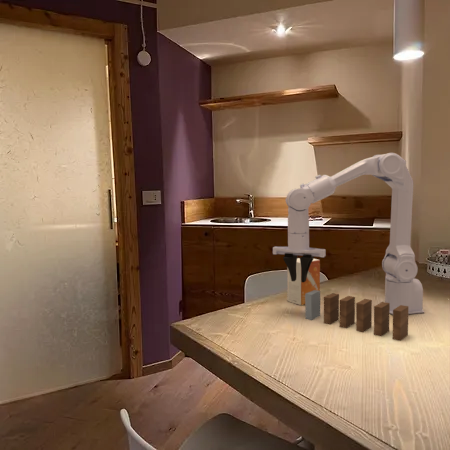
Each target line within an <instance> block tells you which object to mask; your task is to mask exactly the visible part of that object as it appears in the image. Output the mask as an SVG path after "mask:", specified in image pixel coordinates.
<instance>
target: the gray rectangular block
mask: <svg viewBox="0 0 450 450" xmlns="http://www.w3.org/2000/svg"><path fill="white" fill-rule="evenodd" d="M304 306H305V310H304V311H305V313H304V314H305V315H304V317H305V320H309V321H313V320H315V319H316V318H318V317H321V290H320V291H318V290H313V291H311V292H308V293H306V294H305V304H304Z"/></svg>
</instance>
